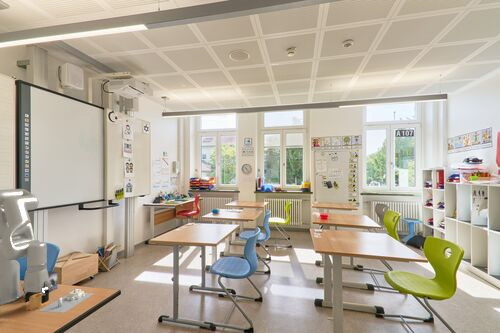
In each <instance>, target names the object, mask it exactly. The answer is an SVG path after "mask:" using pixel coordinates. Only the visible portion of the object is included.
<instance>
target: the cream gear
mask: <svg viewBox="0 0 500 333" xmlns="http://www.w3.org/2000/svg"><path fill="white" fill-rule="evenodd" d="M77 289H78V292H76V293H74V290H75V289H73V290H72V291H70V292H69V294H70V295H68V294H66V295H67V300H71V301H74V300H75V299H80V298H81V297H83V296H84V293H85V291H84V290H82V289H81V288H77Z"/></svg>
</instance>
